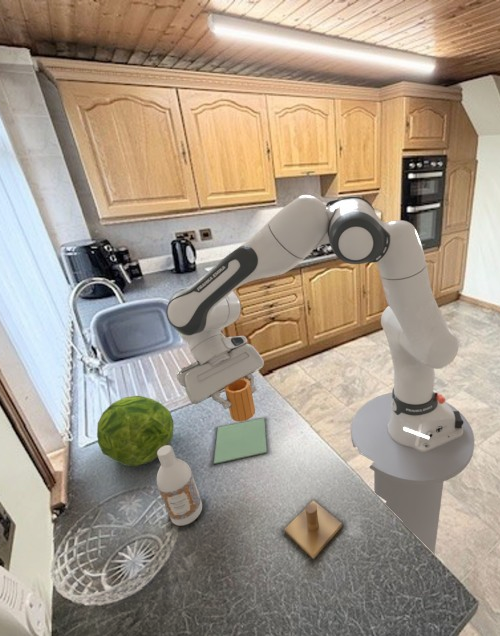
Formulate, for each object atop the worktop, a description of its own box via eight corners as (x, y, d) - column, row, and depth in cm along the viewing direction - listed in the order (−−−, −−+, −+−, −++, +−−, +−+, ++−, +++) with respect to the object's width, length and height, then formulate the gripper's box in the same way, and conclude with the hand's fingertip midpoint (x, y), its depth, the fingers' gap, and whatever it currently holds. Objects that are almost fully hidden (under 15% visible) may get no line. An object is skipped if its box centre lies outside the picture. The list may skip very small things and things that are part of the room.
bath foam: (169, 531, 77) (143, 467, 69) (172, 504, 83) (148, 443, 75) (202, 520, 79) (181, 457, 71) (203, 495, 85) (183, 434, 76)
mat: (264, 419, 109) (264, 418, 109) (266, 452, 97) (266, 451, 96) (217, 428, 106) (217, 427, 106) (214, 464, 94) (213, 463, 94)
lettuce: (159, 414, 113) (129, 374, 105) (194, 437, 98) (162, 392, 90) (106, 456, 102) (67, 415, 94) (136, 489, 88) (94, 444, 80)
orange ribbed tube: (254, 403, 93) (249, 376, 89) (255, 418, 87) (250, 390, 84) (231, 408, 91) (225, 380, 87) (230, 423, 86) (224, 394, 82)
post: (313, 502, 82) (311, 482, 79) (342, 526, 77) (340, 505, 74) (284, 531, 76) (280, 511, 73) (313, 559, 71) (310, 538, 68)
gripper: (175, 367, 79) (206, 419, 78) (249, 333, 93) (277, 376, 92) (171, 376, 84) (200, 425, 82) (242, 343, 98) (269, 384, 96)
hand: (241, 399), depth 87 cm, fingers closed on orange ribbed tube, 6 cm apart
